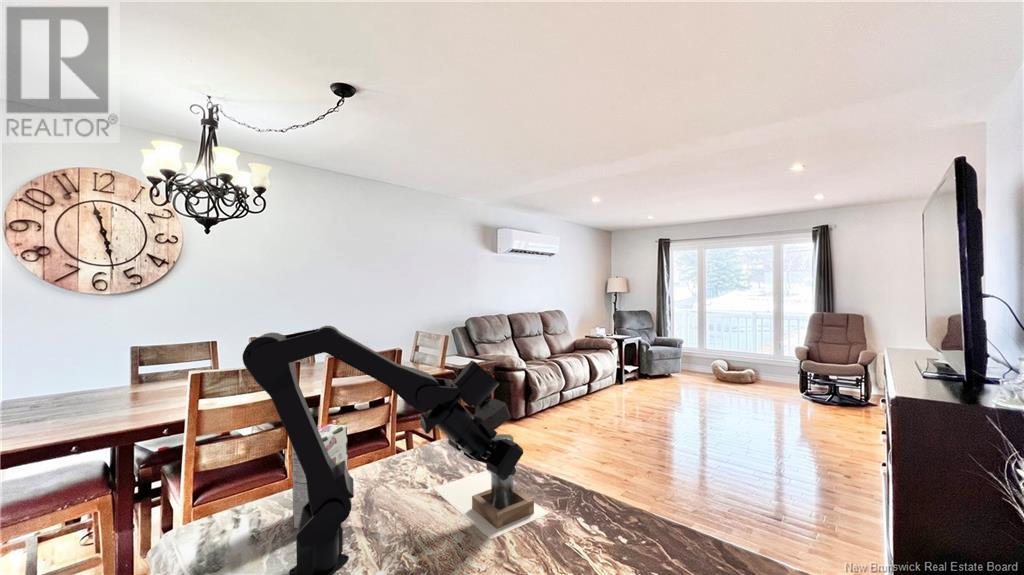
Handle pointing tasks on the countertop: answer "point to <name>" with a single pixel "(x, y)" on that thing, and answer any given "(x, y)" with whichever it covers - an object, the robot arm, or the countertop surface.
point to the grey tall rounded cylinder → (501, 485)
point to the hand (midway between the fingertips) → (507, 468)
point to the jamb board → (461, 500)
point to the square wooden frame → (504, 516)
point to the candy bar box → (337, 450)
